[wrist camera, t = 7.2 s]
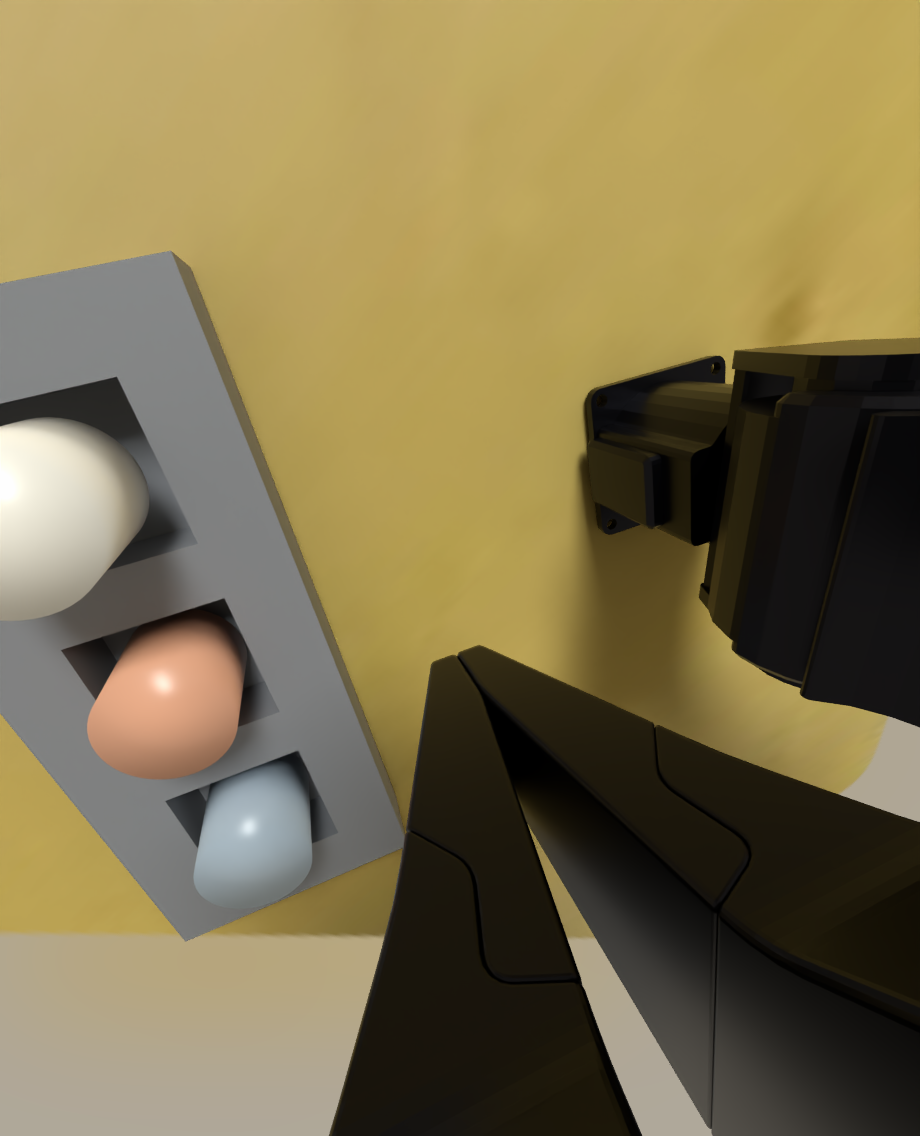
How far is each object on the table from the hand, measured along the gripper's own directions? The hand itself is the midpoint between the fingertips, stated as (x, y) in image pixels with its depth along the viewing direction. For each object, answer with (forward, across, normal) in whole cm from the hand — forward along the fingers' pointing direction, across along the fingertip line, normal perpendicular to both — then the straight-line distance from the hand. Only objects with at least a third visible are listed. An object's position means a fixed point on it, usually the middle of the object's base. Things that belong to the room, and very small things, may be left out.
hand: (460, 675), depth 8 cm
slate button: (+12, +8, +11) cm, 18 cm away
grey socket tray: (+13, +8, +4) cm, 16 cm away
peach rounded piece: (+12, +8, +4) cm, 15 cm away
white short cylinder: (+10, +8, -3) cm, 13 cm away
